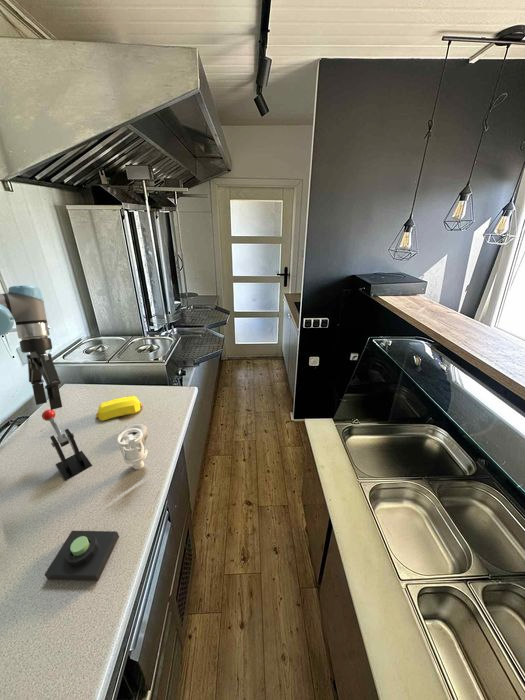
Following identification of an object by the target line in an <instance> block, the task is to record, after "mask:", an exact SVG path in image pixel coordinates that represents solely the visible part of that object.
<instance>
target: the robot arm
mask: <svg viewBox="0 0 525 700" xmlns="http://www.w3.org/2000/svg"><path fill="white" fill-rule="evenodd" d="M7 290H8V292H5V293H0V337H1V336H4V335H6V334H8V333H9V332H10V331H11V330H12V329H13V327H14V325H15V329H16V332H17V338H18V340H19V339H21V340H20V341H19V347H20V351H21V353H23V354H26V360H27V370H28V371H27V372H28V373H27V374H28V382H29V383H30V384H31V386H32V387H31V388H32V391H33V396H34V402H35V405H36V406H39V405H42V404H46V403H48V402H49V407H50V410H53V411H54V410H57V409H60V408H63V404H62V399H61V394H60V387H59V386H60V385H61V384H62V383H61V379H60V376H59V374H58V372H57V369H56V366H55V363H54V361H53V356H52V354H51V352H49V353H47V352H46V351H49V350H50V351H51V350H52V349H53V343H52V339H51V337H49V336H50V335H51V333H50V329H51V326H50V325H49V324H48V319H47V312H46V309H45V300H44V298H43V294H42V290H41V289H40V288H39V286H36V285H11V286H10V287H8V289H7ZM27 353H29V354H27ZM44 383H45V384H46V385H45V386H44ZM45 390H46V391H45ZM46 393H47V395H46ZM46 396H48V401H47V397H46Z"/></svg>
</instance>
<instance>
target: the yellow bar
mask: <svg viewBox="0 0 525 700" xmlns="http://www.w3.org/2000/svg"><path fill="white" fill-rule="evenodd" d="M141 408H143V403H142V402H141V401H140V400H139V399H138V397H136V396H135V395H130V396H129V395H128V396H124V397H117V398H114V399H110V400H107V401H103V402H101V403H100V404H99V406H98V407H97V412H96V414H95V417H96V418H97V419H99V421H107V420H111V419H114V418H119V417H122V416H129V415H133V414H137V413H138V412H140V411H141Z"/></svg>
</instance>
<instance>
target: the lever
mask: <svg viewBox="0 0 525 700" xmlns="http://www.w3.org/2000/svg"><path fill="white" fill-rule="evenodd" d="M41 418H42V420H44V421H46V422H49V423H50V425H51V427H52V428H53V430H54V432H55V433H56V435H57V436H56V440H57V441H58V443H59V445H60V448H63V447H65V446H68V445H69V444H70V442H69V440H68V437H67V435H66V433H65V432H64V433H63V432H62V431H61V429H60V428H59V426H58V424H57V422H56V421H55V418H56V411H55V410H54V409H53V410H51V409H46V410H44V411H43V412H42V414H41Z"/></svg>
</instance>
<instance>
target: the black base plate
mask: <svg viewBox="0 0 525 700" xmlns="http://www.w3.org/2000/svg"><path fill="white" fill-rule="evenodd" d="M81 536H85V537H87V539H88V541H89V543H90V545H89V548H88V550H87V551H86V552H85V553H84V554H82V555H80V556H74V555H73V554H72V552H71V550H70V546H71V544H72V543H73V541H74V540H75V539H77V538H79V537H81ZM119 538H120V536H119V532H118V531H117V530H116V531H114V530H113V531H112V530H111V531H110V530H71V531H70V533H69V534H68V536H67V538H66V539H65V541H64V542H63V544H62V546H61V547H60V549H59V551H58V552H57V554H56V555H55V557H54V558H53V560H52V562H51V563H50V565H49V566H48V568H47V570H46V571H45V572H44V577H45V578H46V579H47V580H48V581H80V582H81V581H83V582H99V580H100V579H101V577H102V574H103V572H104V569H105V568H106V566H107V563H108V562H109V560H110V557H111V555H112V553H113V551H114V549H115V546H116V544H117V542H118V540H119Z"/></svg>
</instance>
